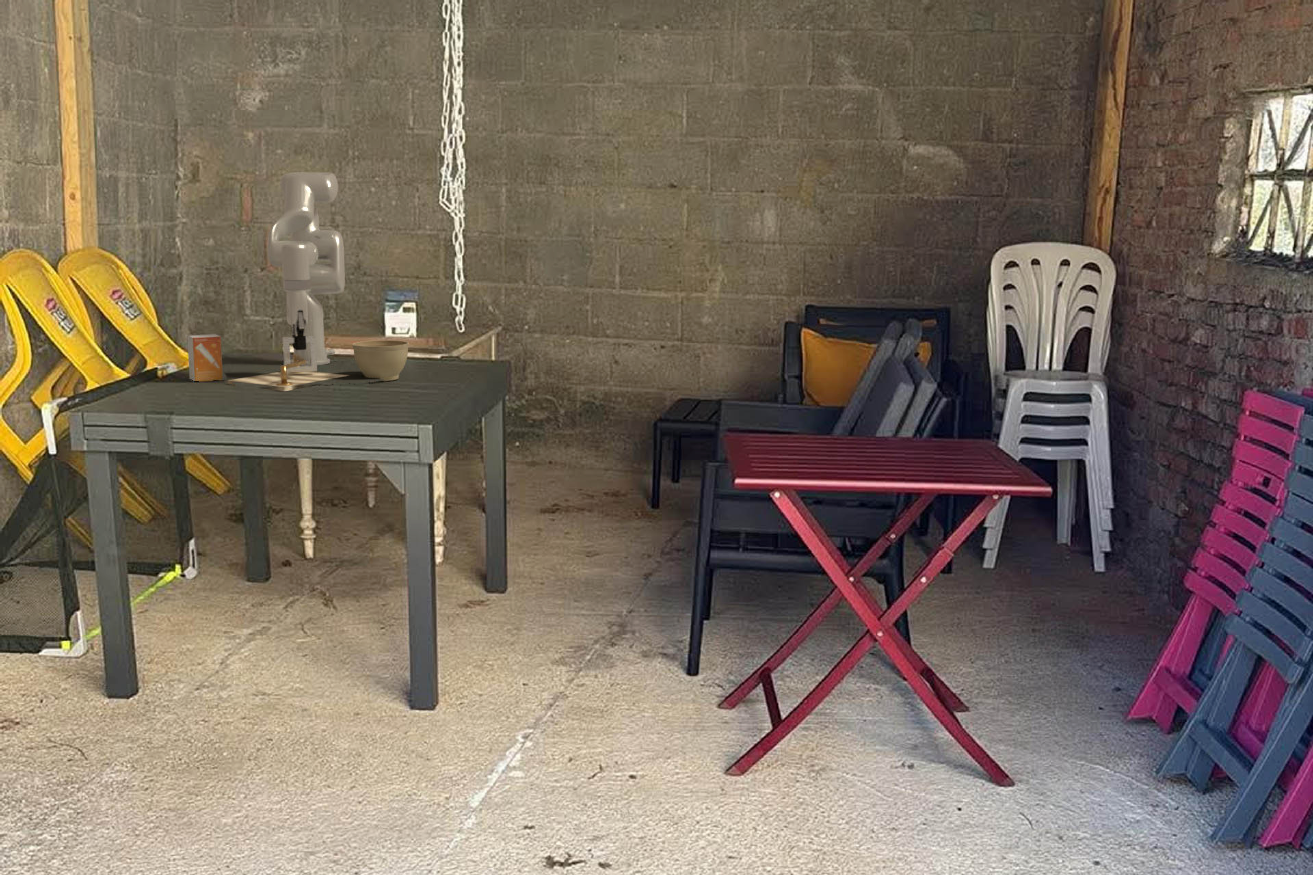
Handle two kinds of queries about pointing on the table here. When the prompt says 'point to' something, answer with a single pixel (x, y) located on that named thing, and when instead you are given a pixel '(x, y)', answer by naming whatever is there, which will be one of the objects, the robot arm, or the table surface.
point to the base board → (291, 377)
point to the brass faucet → (296, 362)
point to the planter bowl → (381, 358)
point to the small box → (205, 357)
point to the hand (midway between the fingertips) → (299, 348)
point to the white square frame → (313, 357)
